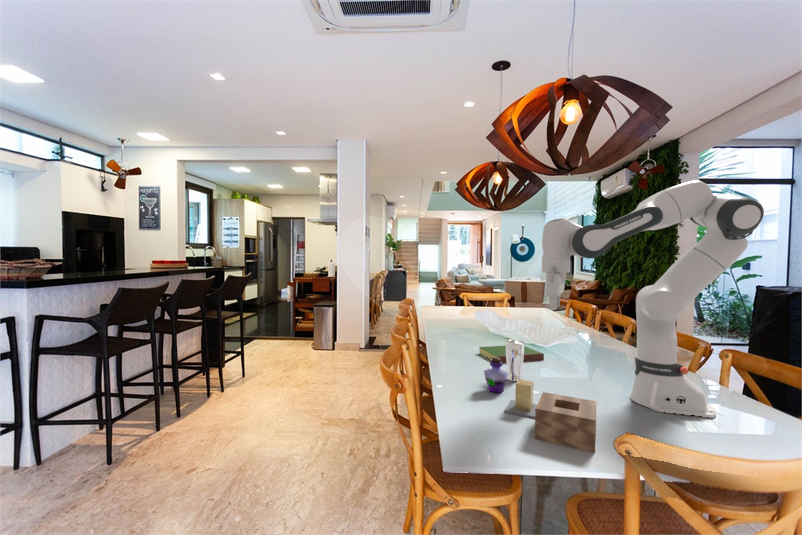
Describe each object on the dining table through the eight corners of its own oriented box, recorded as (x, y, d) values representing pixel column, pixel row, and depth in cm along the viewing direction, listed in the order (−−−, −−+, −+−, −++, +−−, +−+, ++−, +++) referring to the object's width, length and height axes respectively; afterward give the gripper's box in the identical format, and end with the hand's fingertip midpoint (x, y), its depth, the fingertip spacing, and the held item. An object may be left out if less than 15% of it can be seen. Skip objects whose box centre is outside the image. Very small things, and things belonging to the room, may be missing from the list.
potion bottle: (481, 393, 129) (482, 359, 128) (485, 385, 137) (485, 353, 136) (507, 397, 126) (507, 362, 125) (509, 388, 134) (509, 356, 134)
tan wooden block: (532, 406, 116) (533, 381, 116) (530, 412, 112) (530, 386, 112) (518, 404, 118) (518, 379, 118) (515, 408, 114) (515, 383, 114)
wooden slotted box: (595, 429, 102) (596, 401, 102) (594, 452, 89) (595, 420, 89) (542, 418, 108) (543, 392, 108) (534, 438, 96) (535, 408, 96)
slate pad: (543, 407, 117) (543, 405, 117) (538, 419, 108) (538, 417, 108) (511, 401, 122) (511, 399, 122) (504, 412, 113) (504, 410, 113)
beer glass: (524, 383, 140) (525, 344, 140) (505, 381, 142) (506, 343, 142) (522, 377, 147) (523, 340, 147) (504, 376, 149) (505, 339, 148)
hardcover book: (497, 364, 167) (498, 356, 167) (478, 354, 185) (478, 347, 185) (545, 361, 173) (545, 353, 173) (522, 351, 192) (522, 344, 191)
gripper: (562, 267, 112) (562, 312, 113) (568, 267, 130) (567, 305, 130) (541, 267, 115) (540, 311, 116) (549, 266, 133) (548, 304, 133)
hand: (555, 308), depth 123 cm, fingers open, 8 cm apart
